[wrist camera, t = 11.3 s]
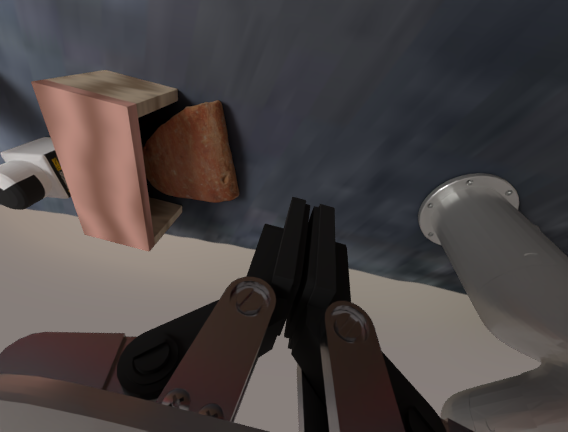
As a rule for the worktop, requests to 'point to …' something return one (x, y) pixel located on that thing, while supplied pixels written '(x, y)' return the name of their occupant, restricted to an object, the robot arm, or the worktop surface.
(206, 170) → the ceramic shard
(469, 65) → the worktop surface
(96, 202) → the overhang bay
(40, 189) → the medicine bottle
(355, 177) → the worktop surface
